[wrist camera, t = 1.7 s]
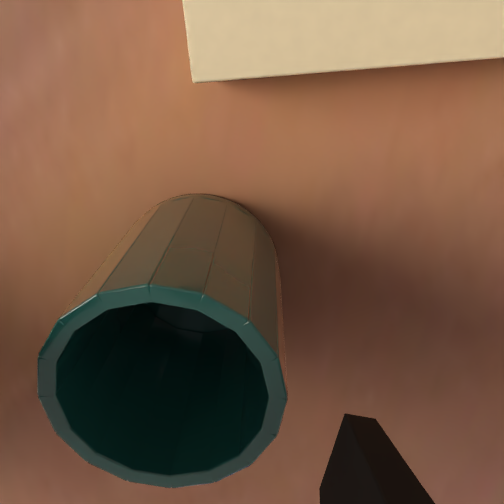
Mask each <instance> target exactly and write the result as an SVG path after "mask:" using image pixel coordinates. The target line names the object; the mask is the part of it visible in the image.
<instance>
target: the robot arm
mask: <svg viewBox="0 0 504 504" xmlns="http://www.w3.org/2000/svg"><path fill="white" fill-rule="evenodd" d="M320 504H435V503H434V501H433V500H432V499H431V497H430V496H429V495H428V493H427V492H426V490H425V489H424V488H423V486H422V485H421V483H420V482H419V481H418V479H417V478H416V476H415V475H414V473H413V472H412V471H411V469H410V468H409V466H408V465H407V463H406V462H405V461H404V459H403V458H402V456H401V455H400V453H399V452H398V450H397V449H396V448H395V446H394V445H393V443H392V442H391V440H390V439H389V437H388V436H387V435H386V433H385V432H384V430H383V429H382V427H381V426H380V425H379V423H378V422H377V420H376V419H374V418H368V417H362V416H356V415H350V414H344V417H343V420H342V423H341V426H340V429H339V432H338V435H337V438H336V441H335V444H334V447H333V450H332V453H331V456H330V459H329V462H328V465H327V468H326V471H325V474H324V477H323V480H322V483H321V486H320Z"/></svg>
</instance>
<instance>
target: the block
mask: <svg viewBox="0 0 504 504" xmlns="http://www.w3.org/2000/svg"><path fill="white" fill-rule="evenodd" d="M182 1H183V10H184V18H185V26H186V35H187V43H188V51H189V60H190V68H191V76H192V81H193V83H204V82H217V81H229V80H241V79H253V78H265V77H277V76H289V75H302V74H314V73H326V72H338V71H350V70H362V69H375V68H387V67H399V66H411V65H423V64H435V63H448V62H460V61H472V60H484V59H496V58H504V0H182Z"/></svg>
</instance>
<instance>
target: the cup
mask: <svg viewBox="0 0 504 504" xmlns="http://www.w3.org/2000/svg"><path fill="white" fill-rule="evenodd" d="M37 394H38V398H39V400H40V402H41V404H42V406H43V409H44V411H45V413H46V415H47V417H48V419H49V421H50V423H51V425H52V427H53V429H54V431H55V432H56V434H57V435H58V436H59V437H60V438H61V439H62V440H63V441H64V442H65V443H67V444H68V445H69V446H70V447H71V448H72V449H73V450H74V451H75V452H76V453H77V454H78V455H79V456H80V457H82V458H83V459H84V460H85V461H86V462H87V461H88V463H89V464H91V465H93V466H95V467H98V468H100V469H102V470H104V471H106V472H108V473H110V474H112V475H115V476H117V477H119V478H121V479H123V480H125V481H127V480H128V481H129V482H134V483H140V484H146V485H153V486H159V487H165V488H171V487H172V488H179V487H186V486H194V485H201V484H209V483H214V482H217V481H219V480H221V479H223V478H225V477H227V476H229V475H231V474H234V473H236V472H238V471H240V470H242V469H244V468H246V467H248V466H250V465H251V464H252V463H253V462H254V461H255V460H256V459H257V458H258V457H259V456H260V455H261V453H262V452H263V451H264V450H265V449H266V448H267V447H268V446H269V444H270V443H271V442H272V441H273V440H274V439H275V438H276V436H277V434H278V433H279V429H280V426H281V422H282V418H283V415H284V411H285V407H286V403H287V400H288V391H287V375H286V360H285V344H284V329H283V313H282V298H281V282H280V271H279V267H278V259H277V253H276V250H275V246H274V244H273V241H272V239H271V237H270V235H269V234H268V232H267V230H266V229H265V227H264V226H263V225H262V224H261V222H260V221H259V220H258V219H257V218H256V217H255V216H254V215H253V214H252V213H250V212H249V211H247V210H246V209H245V208H243V207H242V206H240V205H238V204H236V203H234V202H232V201H230V200H227V199H225V198H221V197H217V196H213V195H206V194H188V195H181V196H177V197H173V198H170V199H168V200H165V201H163V202H161V203H159V204H157V205H156V206H154V207H152V208H151V209H150V210H149V211H147V212H146V213H145V214H144V215H143V216H142V217H141V218H140V219H138V220H137V221H136V222H135V224H134V225H133V226H132V227H131V229H130V230H129V231H128V232H127V233H126V235H125V236H124V237H123V238H122V240H121V241H120V242H119V243H118V245H117V246H116V247H115V248H114V250H113V251H112V252H111V253H110V255H109V256H108V257H107V258H106V260H105V261H104V262H103V263H102V265H101V266H100V267H99V268H98V270H97V271H96V272H95V273H94V275H93V276H92V277H91V278H90V280H89V281H88V282H87V283H86V285H85V286H84V287H83V288H82V290H81V291H80V292H79V293H78V295H77V296H76V297H75V298H74V300H73V301H72V302H71V303H70V305H69V306H68V307H67V308H66V310H65V311H64V312H63V313H62V315H61V316H60V317H59V318H58V320H57V321H56V323H55V325H54V327H53V328H52V330H51V332H50V334H49V336H48V337H47V339H46V341H45V343H44V345H43V346H42V348H41V350H40V352H39V355H38V380H37Z"/></svg>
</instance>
